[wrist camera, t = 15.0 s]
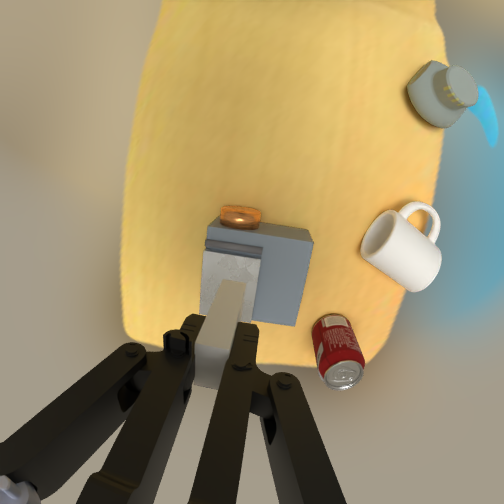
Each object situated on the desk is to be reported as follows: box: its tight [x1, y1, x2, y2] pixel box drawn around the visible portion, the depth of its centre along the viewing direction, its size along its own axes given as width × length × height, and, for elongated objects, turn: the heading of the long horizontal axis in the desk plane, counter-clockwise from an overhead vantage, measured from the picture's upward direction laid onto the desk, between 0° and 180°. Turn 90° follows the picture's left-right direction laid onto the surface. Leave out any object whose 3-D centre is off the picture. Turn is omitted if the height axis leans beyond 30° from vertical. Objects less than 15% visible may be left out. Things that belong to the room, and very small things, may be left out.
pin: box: [220, 206, 261, 230], centre depth 39 cm, size 16×5×5 cm, turn 172°
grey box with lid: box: [205, 216, 314, 326], centre depth 39 cm, size 12×13×8 cm
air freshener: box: [407, 60, 478, 128], centre depth 27 cm, size 11×8×10 cm
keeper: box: [199, 249, 261, 323], centre depth 36 cm, size 9×7×1 cm
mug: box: [360, 201, 442, 292], centre depth 35 cm, size 12×10×8 cm
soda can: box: [312, 315, 365, 390], centre depth 39 cm, size 7×7×12 cm
